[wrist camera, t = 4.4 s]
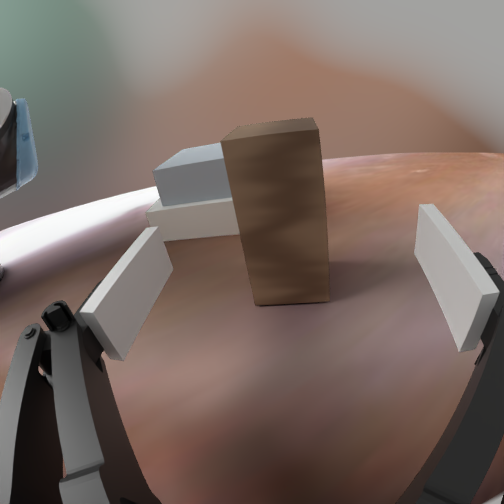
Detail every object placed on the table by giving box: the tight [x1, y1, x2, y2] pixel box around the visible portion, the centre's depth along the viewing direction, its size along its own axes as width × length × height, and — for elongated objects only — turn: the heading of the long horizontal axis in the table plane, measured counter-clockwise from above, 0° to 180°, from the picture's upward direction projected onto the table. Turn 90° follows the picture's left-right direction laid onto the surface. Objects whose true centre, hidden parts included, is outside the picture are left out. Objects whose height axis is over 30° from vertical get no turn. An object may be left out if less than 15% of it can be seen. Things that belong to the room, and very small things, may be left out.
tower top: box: [153, 143, 232, 206], centre depth 32 cm, size 9×9×4 cm
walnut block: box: [220, 118, 330, 305], centre depth 19 cm, size 5×5×11 cm
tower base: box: [146, 197, 240, 241], centre depth 35 cm, size 12×12×4 cm
